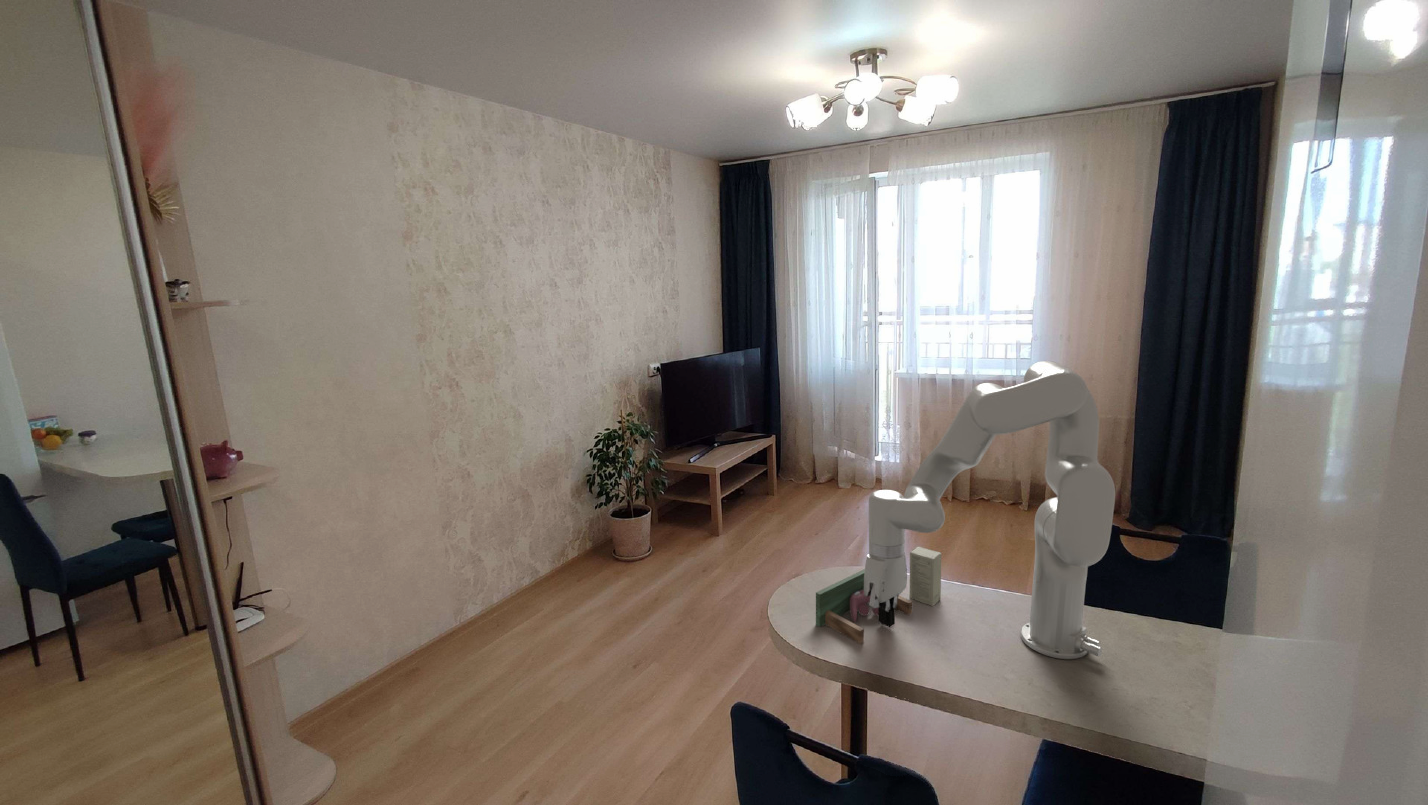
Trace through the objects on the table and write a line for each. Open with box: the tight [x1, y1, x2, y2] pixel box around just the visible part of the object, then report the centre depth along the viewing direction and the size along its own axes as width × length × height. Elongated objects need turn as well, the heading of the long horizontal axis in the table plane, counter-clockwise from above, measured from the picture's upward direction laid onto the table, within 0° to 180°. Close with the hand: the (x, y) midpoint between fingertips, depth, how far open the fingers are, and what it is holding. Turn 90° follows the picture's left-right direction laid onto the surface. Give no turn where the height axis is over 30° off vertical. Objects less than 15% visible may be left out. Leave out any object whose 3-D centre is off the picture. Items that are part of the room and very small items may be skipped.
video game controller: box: [849, 590, 879, 623], centre depth 144 cm, size 10×5×7 cm, turn 86°
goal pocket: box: [815, 568, 913, 644], centre depth 143 cm, size 11×22×8 cm, turn 128°
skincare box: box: [909, 546, 942, 607], centre depth 150 cm, size 6×4×12 cm
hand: (886, 623), depth 140 cm, fingers closed
